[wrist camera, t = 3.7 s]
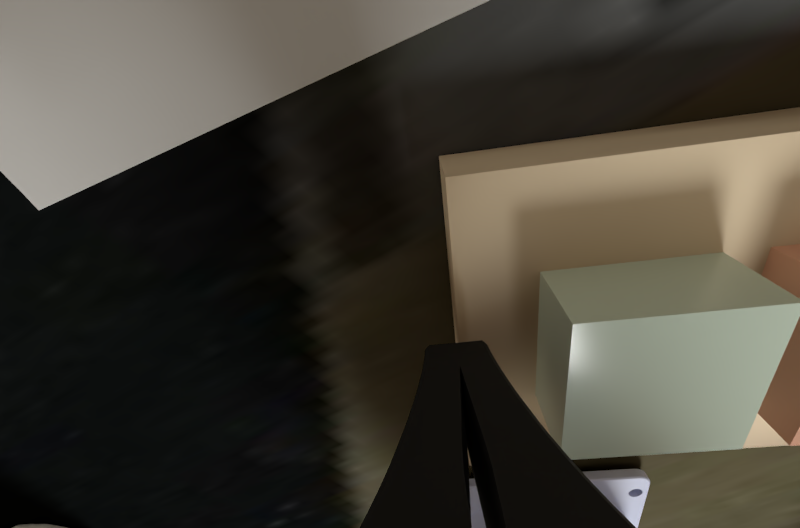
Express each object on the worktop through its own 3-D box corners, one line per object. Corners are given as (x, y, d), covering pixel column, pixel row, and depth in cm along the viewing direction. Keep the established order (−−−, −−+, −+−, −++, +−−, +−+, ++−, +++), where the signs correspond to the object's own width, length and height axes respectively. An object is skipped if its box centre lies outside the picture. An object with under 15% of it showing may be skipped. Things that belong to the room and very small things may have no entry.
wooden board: (845, 385, 13) (915, 437, 11) (461, 414, 14) (469, 466, 12) (1020, 77, 8) (1181, 81, 7) (438, 155, 10) (445, 177, 8)
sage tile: (685, 382, 10) (742, 448, 9) (535, 394, 11) (560, 460, 9) (723, 252, 8) (805, 302, 7) (540, 271, 9) (572, 324, 7)
